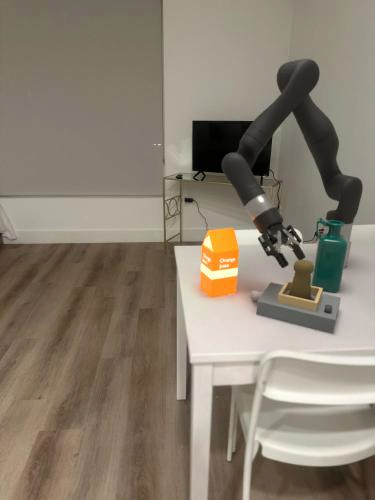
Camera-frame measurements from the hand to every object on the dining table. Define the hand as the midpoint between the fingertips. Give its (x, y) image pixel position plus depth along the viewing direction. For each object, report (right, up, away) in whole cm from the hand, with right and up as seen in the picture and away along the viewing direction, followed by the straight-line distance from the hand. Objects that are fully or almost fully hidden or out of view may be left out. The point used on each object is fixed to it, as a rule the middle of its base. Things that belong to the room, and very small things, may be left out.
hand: (294, 262), depth 99 cm
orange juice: (-20, -9, +14) cm, 26 cm away
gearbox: (0, -14, +3) cm, 14 cm away
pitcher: (+15, -8, +19) cm, 26 cm away
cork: (+2, -10, +1) cm, 10 cm away
